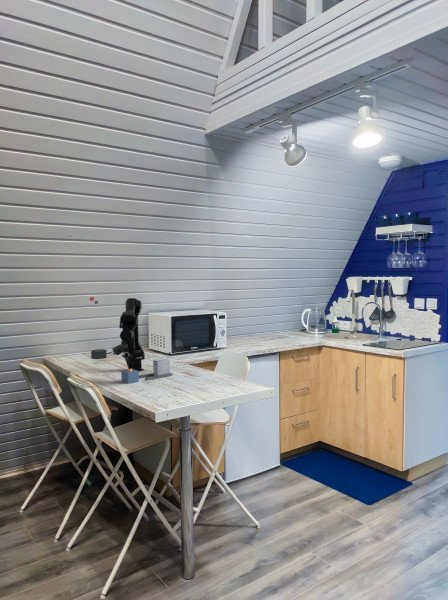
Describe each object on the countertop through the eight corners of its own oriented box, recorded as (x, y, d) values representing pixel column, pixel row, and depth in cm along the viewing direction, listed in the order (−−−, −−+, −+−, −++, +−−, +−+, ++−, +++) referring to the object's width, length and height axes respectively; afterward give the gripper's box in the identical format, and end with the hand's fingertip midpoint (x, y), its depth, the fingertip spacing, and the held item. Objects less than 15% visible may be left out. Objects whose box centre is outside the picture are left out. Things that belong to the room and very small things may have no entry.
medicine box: (165, 373, 245) (165, 358, 245) (170, 375, 242) (169, 359, 241) (153, 376, 240) (152, 360, 239) (157, 377, 237) (157, 361, 236)
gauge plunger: (127, 376, 229) (126, 369, 228) (130, 376, 230) (130, 368, 230) (129, 377, 227) (128, 369, 227) (133, 376, 228) (132, 369, 228)
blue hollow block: (121, 381, 229) (121, 370, 229) (132, 379, 233) (131, 368, 233) (128, 383, 224) (127, 372, 224) (138, 381, 228) (138, 370, 228)
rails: (138, 377, 236) (138, 375, 236) (163, 373, 247) (163, 371, 247) (146, 380, 230) (146, 378, 230) (172, 375, 240) (172, 373, 240)
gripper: (105, 338, 229) (106, 368, 230) (123, 342, 215) (124, 374, 216) (125, 336, 237) (126, 365, 237) (143, 339, 222) (144, 370, 223)
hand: (129, 369), depth 228 cm, fingers closed, pressing on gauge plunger
